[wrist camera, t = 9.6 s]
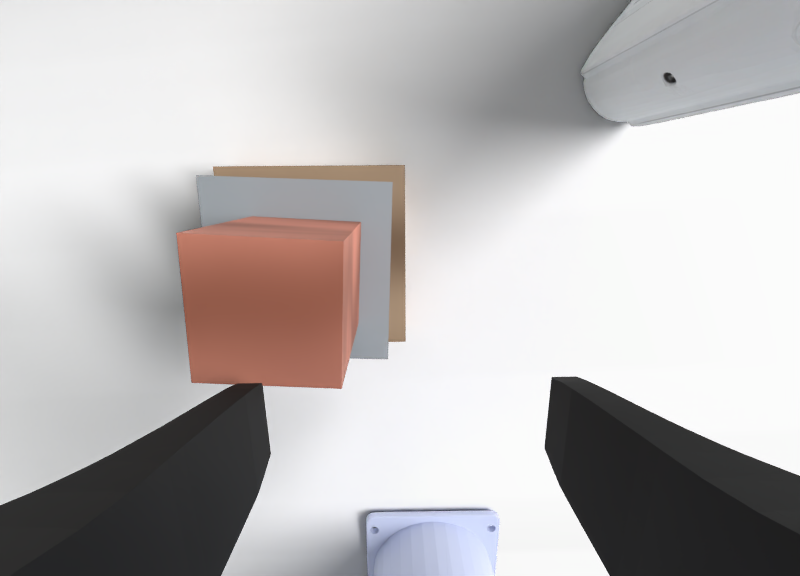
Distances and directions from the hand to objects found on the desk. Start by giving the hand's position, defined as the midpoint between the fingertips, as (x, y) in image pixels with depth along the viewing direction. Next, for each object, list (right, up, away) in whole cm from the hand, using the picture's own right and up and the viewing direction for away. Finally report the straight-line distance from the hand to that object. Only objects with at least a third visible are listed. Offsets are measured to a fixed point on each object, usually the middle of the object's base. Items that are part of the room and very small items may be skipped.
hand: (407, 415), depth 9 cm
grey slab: (-4, +4, +7) cm, 10 cm away
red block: (-4, +4, +5) cm, 7 cm away
